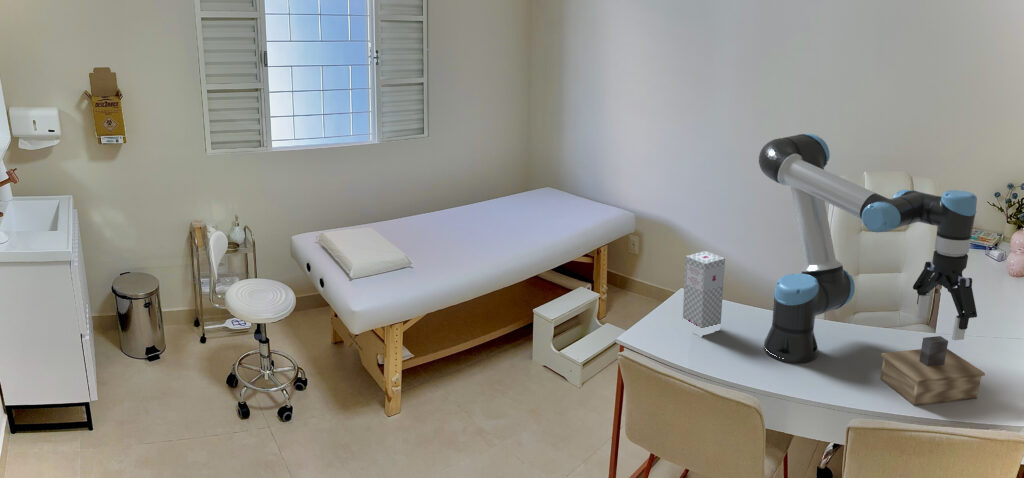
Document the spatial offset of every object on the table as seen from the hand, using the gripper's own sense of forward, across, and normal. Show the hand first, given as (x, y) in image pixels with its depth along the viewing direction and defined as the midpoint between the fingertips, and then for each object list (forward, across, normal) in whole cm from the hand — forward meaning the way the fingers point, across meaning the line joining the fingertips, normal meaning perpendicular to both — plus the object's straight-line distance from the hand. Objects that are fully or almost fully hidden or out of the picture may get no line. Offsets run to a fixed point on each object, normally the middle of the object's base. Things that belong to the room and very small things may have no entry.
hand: (938, 328), depth 187 cm
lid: (+11, 0, 0) cm, 11 cm away
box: (+18, +48, +45) cm, 68 cm away
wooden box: (+18, 0, 0) cm, 18 cm away
